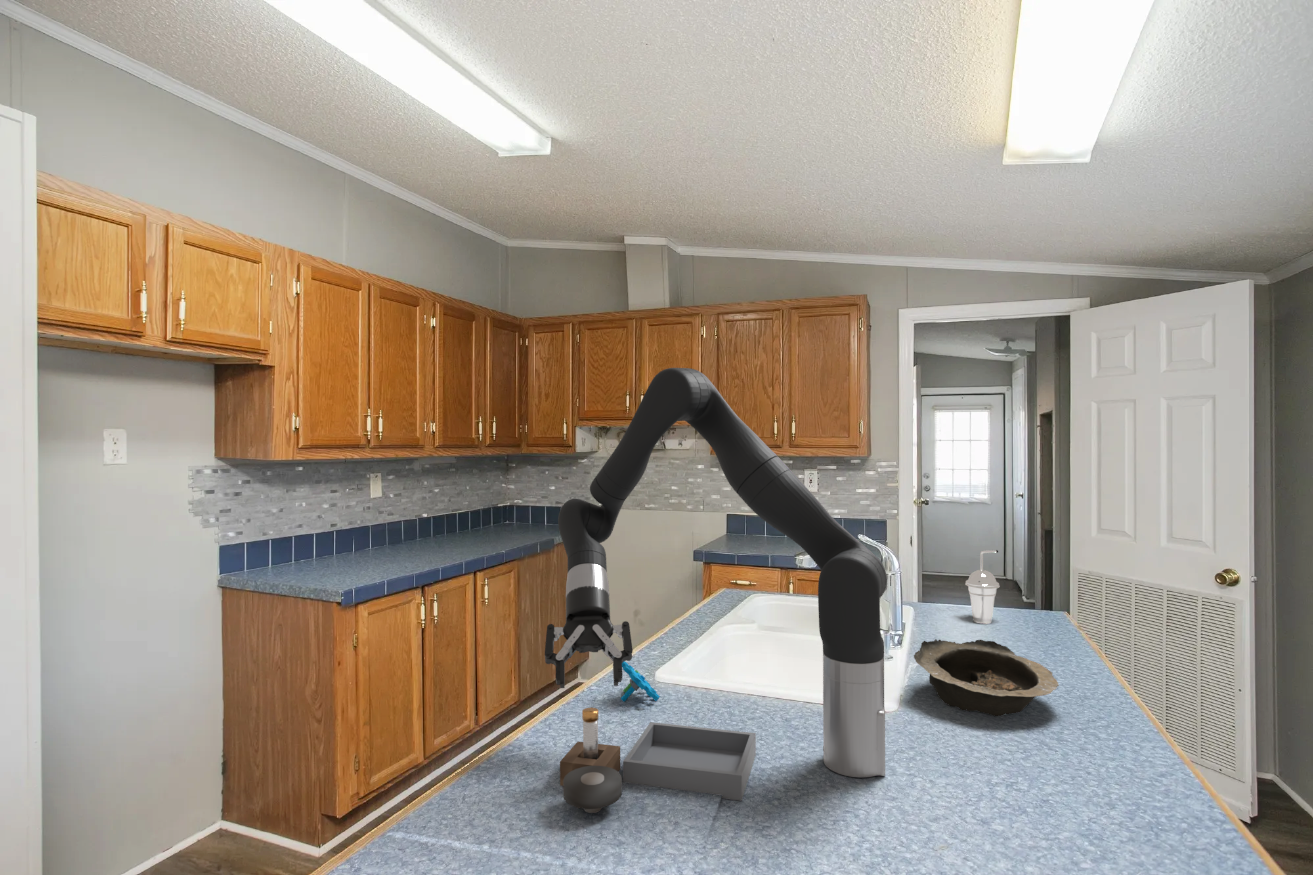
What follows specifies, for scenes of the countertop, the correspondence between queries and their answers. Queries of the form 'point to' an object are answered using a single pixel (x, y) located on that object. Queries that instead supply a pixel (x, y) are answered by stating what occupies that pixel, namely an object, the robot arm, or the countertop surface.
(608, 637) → the robot arm
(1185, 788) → the countertop surface
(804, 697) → the countertop surface
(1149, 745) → the countertop surface
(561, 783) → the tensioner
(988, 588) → the cup with straw
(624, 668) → the gear
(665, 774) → the tray
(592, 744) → the lock pin
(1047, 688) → the stone bowl
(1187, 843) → the countertop surface
